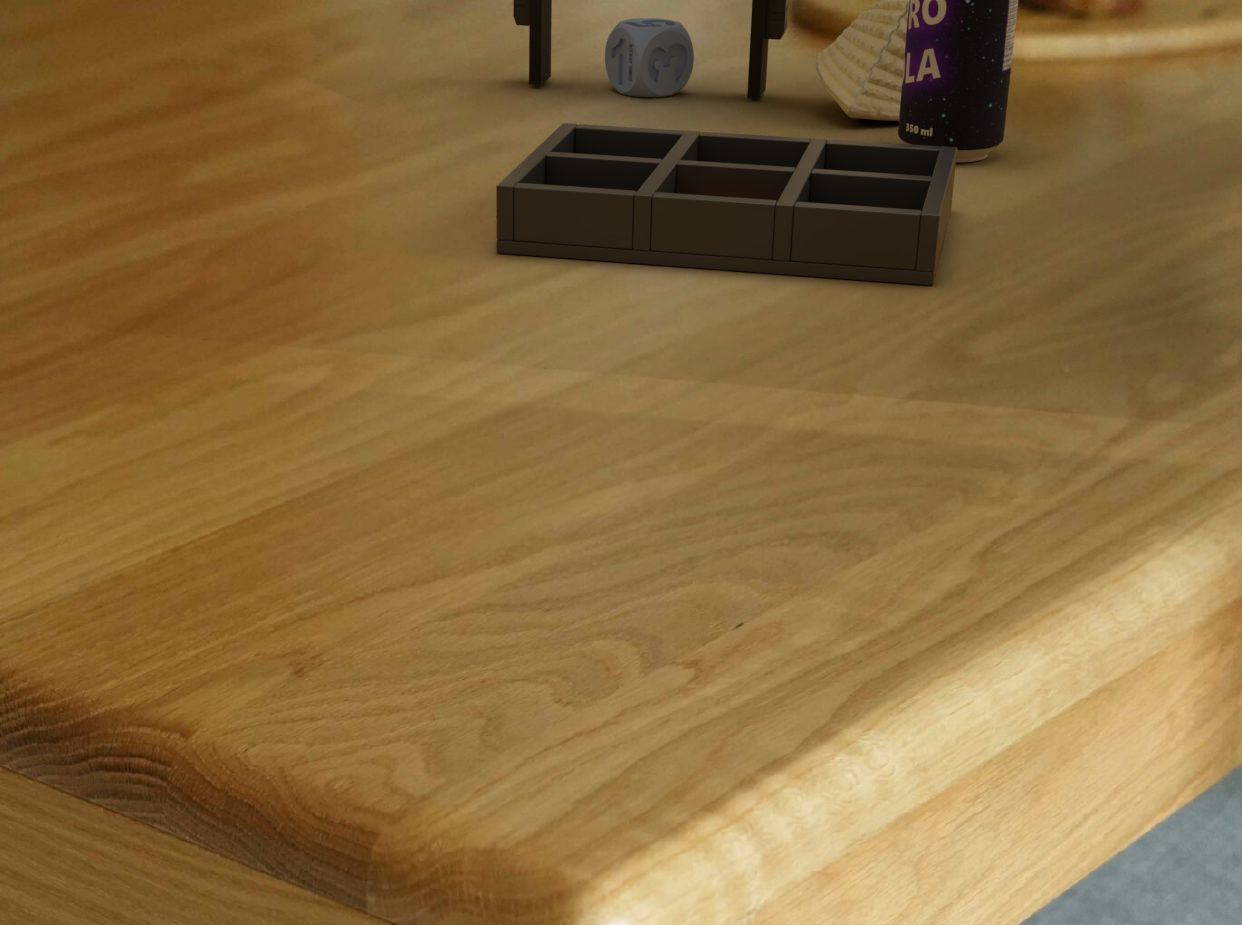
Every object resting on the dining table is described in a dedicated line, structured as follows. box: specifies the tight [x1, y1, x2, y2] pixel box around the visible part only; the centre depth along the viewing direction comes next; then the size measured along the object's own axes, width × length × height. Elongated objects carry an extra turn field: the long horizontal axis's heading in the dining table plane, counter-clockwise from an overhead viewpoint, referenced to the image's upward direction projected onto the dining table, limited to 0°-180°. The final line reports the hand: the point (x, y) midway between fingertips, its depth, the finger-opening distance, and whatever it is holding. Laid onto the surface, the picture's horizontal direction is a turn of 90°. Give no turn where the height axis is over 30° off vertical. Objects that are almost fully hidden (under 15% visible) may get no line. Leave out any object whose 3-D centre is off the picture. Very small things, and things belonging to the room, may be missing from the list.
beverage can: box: [897, 0, 1019, 163], centre depth 110 cm, size 6×6×12 cm
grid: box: [495, 122, 957, 286], centre depth 97 cm, size 20×13×3 cm
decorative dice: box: [604, 17, 695, 98], centre depth 126 cm, size 4×4×4 cm
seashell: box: [815, 0, 909, 122], centre depth 121 cm, size 8×8×8 cm
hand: (646, 87), depth 127 cm, fingers open, 13 cm apart
